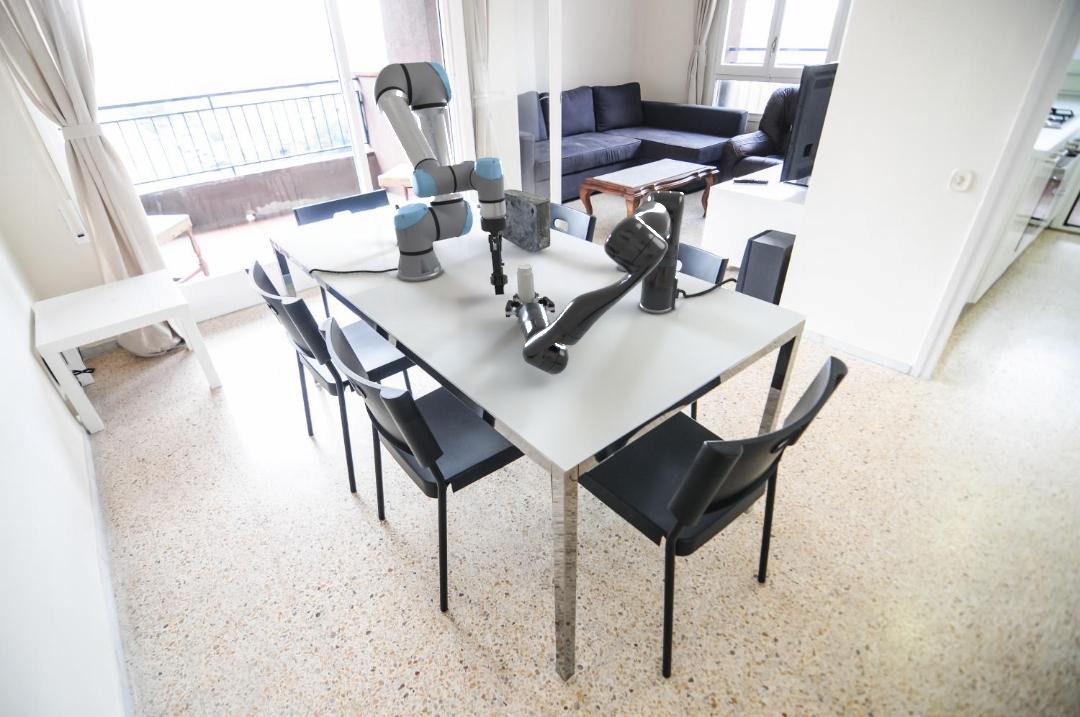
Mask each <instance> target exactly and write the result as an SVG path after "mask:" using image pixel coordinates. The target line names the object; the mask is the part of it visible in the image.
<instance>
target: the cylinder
mask: <svg viewBox="0 0 1080 717" xmlns="http://www.w3.org/2000/svg"><path fill="white" fill-rule="evenodd" d="M533 268H534V267H533V265H532V264H531V263H521V264H518V265H517V271H516V280H517V281H516V282H517V294H518V297H519V300H522V301H524V302H525V303H530V302H534V299H535V293H534V292H535V274H534V270H533Z"/></svg>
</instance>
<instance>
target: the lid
mask: <svg viewBox="0 0 1080 717" xmlns="http://www.w3.org/2000/svg"><path fill="white" fill-rule="evenodd" d="M489 280H490V285H492V286H494V276H491V275H490V277H489ZM508 283H509V278H508V275H507V274H506V273H505V274H504V273H503V285H504V286H505V285H507V284H508Z"/></svg>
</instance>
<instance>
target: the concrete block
mask: <svg viewBox="0 0 1080 717" xmlns="http://www.w3.org/2000/svg"><path fill="white" fill-rule="evenodd" d="M504 195H505V205H506V214H505V216H506V220H507V228H506V229H505V230H503V231H500V234H502V239H505V240H506V241H508V242H509V243H511V244H513V245H515V246H517V247H519V248H520V249H523V250H526V251H530V252H540V251H542V250H545V249H547V248H549V247H551V200H550V199H549V198H546V197H544V196H541V195H538V194H535V193H531V192H528V191H523V190H519V189H511V188H510V189H504Z"/></svg>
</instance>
